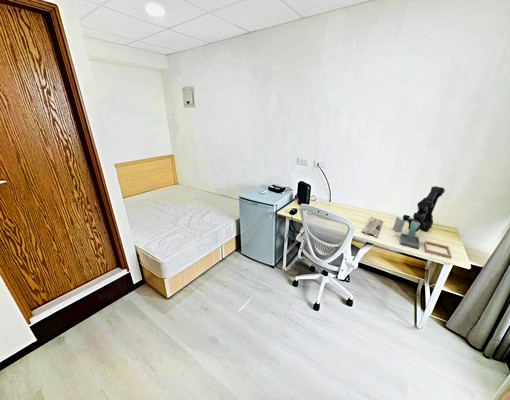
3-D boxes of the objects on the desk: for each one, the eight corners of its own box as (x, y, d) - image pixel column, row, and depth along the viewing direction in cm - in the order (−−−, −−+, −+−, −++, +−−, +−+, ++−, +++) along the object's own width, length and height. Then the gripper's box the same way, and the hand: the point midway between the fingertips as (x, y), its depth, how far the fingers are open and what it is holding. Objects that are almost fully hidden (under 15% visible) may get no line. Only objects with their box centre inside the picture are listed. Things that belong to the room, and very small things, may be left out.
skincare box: (392, 228, 193) (396, 216, 188) (397, 228, 193) (401, 216, 188) (397, 232, 187) (400, 219, 183) (402, 232, 187) (405, 219, 183)
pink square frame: (424, 242, 171) (425, 240, 170) (448, 248, 163) (448, 246, 162) (425, 251, 160) (426, 249, 159) (450, 258, 152) (451, 256, 151)
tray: (400, 235, 181) (401, 233, 180) (418, 240, 175) (418, 237, 174) (399, 244, 169) (400, 241, 168) (418, 249, 162) (419, 246, 162)
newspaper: (377, 238, 178) (378, 234, 177) (361, 233, 185) (361, 230, 184) (383, 222, 205) (384, 219, 204) (369, 219, 212) (369, 215, 210)
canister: (405, 236, 172) (410, 220, 167) (410, 235, 173) (415, 219, 168) (410, 239, 168) (415, 223, 163) (415, 238, 169) (420, 222, 164)
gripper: (406, 205, 171) (397, 221, 169) (435, 213, 157) (426, 230, 155) (407, 211, 178) (399, 227, 176) (435, 219, 164) (426, 236, 162)
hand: (412, 230), depth 167 cm, fingers closed on canister, 4 cm apart
